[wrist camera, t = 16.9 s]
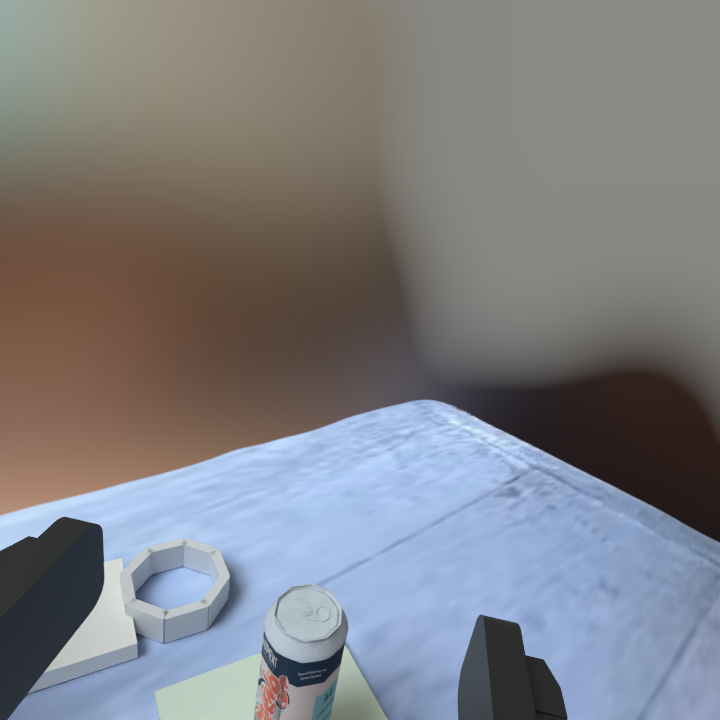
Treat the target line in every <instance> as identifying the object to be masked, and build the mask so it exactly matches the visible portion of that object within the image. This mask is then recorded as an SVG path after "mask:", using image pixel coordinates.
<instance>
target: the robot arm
mask: <svg viewBox="0 0 720 720" xmlns="http://www.w3.org/2000/svg"><path fill="white" fill-rule="evenodd" d="M103 586H104V553H103V531H102V528H101V526H100V525H98V524H94V523H90V522H85V521H81V520H77V519H72V518H68V517H62V518H60V519H58V520H57V521H55V522H54V523H53V524H52V525H51V526H50V527H49V528H48V529H47V530H46V531H44V532H43V533H42V534H41V535H40V536H39V537H38V538H34V537H30V536H28V537H26V538H24V539H23V540H21V541H19V542H17V543H15V544H13V545H11V546H9V547H7V548H5V549H3V550H1V551H0V720H7V719H8V718H9V717H10V715H11V714H12V713H13V711H14V710H15V709H16V708H17V706H18V705H19V704H20V702H21V701H22V700H23V699H24V697H25V696H26V695H27V694H28V692H29V691H30V690H31V688H32V687H33V686H34V685H35V683H36V682H37V681H38V680H39V678H40V677H41V676H42V674H43V673H44V672H45V671H46V669H47V668H48V667H49V665H50V664H51V663H52V662H53V660H54V659H55V658H56V657H57V655H58V654H59V653H60V651H61V650H62V649H63V648H64V646H65V645H66V644H67V642H68V641H69V640H70V639H71V637H72V636H73V635H74V634H75V632H76V631H77V630H78V628H79V627H80V626H81V625H82V623H83V622H84V621H85V620H86V618H87V617H88V616H89V614H90V613H91V612H92V610H93V609H94V607H95V606H96V604H97V602H98V600H99V598H100V595H101V593H102V590H103ZM458 720H567V713H566V709H565V705H564V700H563V696H562V692H561V688H560V686H559V684H558V683H557V681H556V679H555V678H554V676H553V674H552V673H551V671H550V669H549V668H548V666H547V664H546V663H545V661H544V660H543V659H539V658H534V657H530V656H526V655H525V651H524V645H523V640H522V634H521V629H520V626H519V625H518V624H517V623H514V622H510V621H505V620H501V619H497V618H493V617H488V616H484V615H479V617H478V619H477V621H476V624H475V627H474V630H473V634H472V637H471V640H470V643H469V646H468V649H467V652H466V656H465V659H464V662H463V665H462V669H461V673H460V680H459V688H458Z"/></svg>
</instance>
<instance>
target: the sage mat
mask: <svg viewBox="0 0 720 720" xmlns="http://www.w3.org/2000/svg"><path fill="white" fill-rule="evenodd" d="M261 654H262V652H261V653H258V654H255V655H253V656H250V657H247V658H244V659H242V660H239V661H236V662H233V663H231V664H228V665H225V666H222V667H220V668H217V669H214V670H211V671H209V672H206V673H203V674H200V675H198V676H195V677H192V678H190V679H187V680H184V681H181V682H179V683H176V684H173V685H170V686H168V687H165V688H162V689H159V690H157V691H155V701H156V706H157V711H158V716H159V720H254V713H255V704H256V696H257V688H258V679H259V671H260V662H261ZM330 720H388V719H387V717H386V715H385V713H384V712H383V710H382V708H381V706H380V705H379V703H378V701H377V699H376V698H375V696H374V694H373V692H372V691H371V689H370V687H369V685H368V684H367V682H366V680H365V678H364V677H363V675H362V673H361V671H360V670H359V668H358V666H357V664H356V663H355V661H354V659H353V657H352V656H351V654H350V652H349V650H348V648H347V647H346V645H345V646H344V651H343V656H342V661H341V666H340V671H339V676H338V681H337V686H336V691H335V696H334V701H333V706H332V711H331V716H330Z"/></svg>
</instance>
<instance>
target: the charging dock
mask: <svg viewBox="0 0 720 720" xmlns="http://www.w3.org/2000/svg"><path fill="white" fill-rule="evenodd" d="M179 567H186V568H189V569H192V570H195V571H198V572H201V573H203V574H206V575H209V576H210V577H211V580H212V583H213V586H212V587H211V589H210V590H209V591H208V593H207V594H206V596H205V597H204V598H203V600H200V601H197V602H193V603H190V604H187V605H183V606H180V607H176V608H173V609H170V610H164V609H162V608H159V607H156V606H154V605H151V604H148V603H145V602H143V601H140V600H137V599H136V597H135V592H136V591H137V590H138V589H139V588H140V587H141V586H142V585H143V584H144V583H145V581H146V580H147V579H148V578H149V577H150V576H151V575H152V574H156V573H160V572H164V571H167V570H171V569H175V568H179ZM229 583H230V574H229V572H228V569H227V567H226V564H225V562H224V559H223V557H222V555H221V552H220V550H218V549H217V548H214V547H211V546H208V545H205V544H202V543H200V542H197V541H194V540H191V539H188V538H186V539H185V538H183V539H179V540H174V541H170V542H166V543H161V544H157V545H153V546H148V547H147V548H145V549H144V550H143V551H142V552H141V553H140V554H139V555H138V556H137V557H136V558H135V559H134V560H133V561H132V562H131V563H130V564H129V565H128V566H127V567H126V568H125V569H123V564H122V558H119V559H115V560H111V561H107V562H104V586H103V590H102V593H101V595H100V598H99V600H98V602H97V604H96V606H95V607H94V609H93V610H92V612H91V613H90V614H89V616H88V617H87V618H86V620H85V621H84V622H83V623H82V625H81V626H80V627H79V628H78V630H77V631H76V632H75V634H74V635H73V636H72V637H71V639H70V640H69V641H68V642H67V644H66V645H65V646H64V648H63V649H62V650H61V651H60V653H59V654H58V655H57V657H56V658H55V659H54V660H53V662H52V663H51V664H50V665H49V667H48V668H47V669H46V671H45V672H44V673H43V674H42V676H41V677H40V678H39V680H38V681H37V682H36V683H35V685H34V686H33V687H32V688H31V690H30V691H29V692H28V694H29V693H32V692H35V691H38V690H41V689H44V688H47V687H50V686H53V685H56V684H59V683H62V682H65V681H68V680H71V679H74V678H77V677H81V676H84V675H87V674H90V673H93V672H96V671H99V670H102V669H105V668H108V667H111V666H114V665H117V664H120V663H123V662H126V661H129V660H132V659H135V658H138V652H137V638H136V633H137V634H139V635H142V636H144V637H147V638H150V639H152V640H155V641H157V642H160V643H164V642H165V643H168V642H171V641H174V640H177V639H180V638H184V637H187V636H190V635H193V634H196V633H199V632H202V631H205V630H207V628H208V629H209V627H210V626H211V624H212V623H213V621H214V620H215V618H216V617H217V615H218V614H219V612H220V611H221V609H222V608H223V606H224V605H225V603H226V602H227V600H228V596H229Z"/></svg>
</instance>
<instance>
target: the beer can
mask: <svg viewBox="0 0 720 720" xmlns="http://www.w3.org/2000/svg"><path fill="white" fill-rule="evenodd" d="M347 632H348V622H347V618H346V615H345V613H344V611H343V609H342V605H341V604H340V603H339V601H338V600H337V599H336V597H335V596H334V595H333V593H332V592H331V591H329V590H327V589H324V588H322V587H319V586H317V585H314V584H306V585H298V586H292V587H290V588H289V589H288V590H287V591H285V592H284V593H283V594H281V595H280V596H279V597H278V598H277V600H276V601H275V602H274V603H273V604H272V605H271V606H270V608H269V609H268V611H267V614H266V617H265V622H264V637H263V645H262V654H261V662H260V671H259V679H258V688H257V696H256V704H255V713H254V720H330V716H331V711H332V706H333V701H334V696H335V691H336V686H337V681H338V676H339V671H340V666H341V661H342V656H343V651H344V646H345V641H346V637H347Z"/></svg>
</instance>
